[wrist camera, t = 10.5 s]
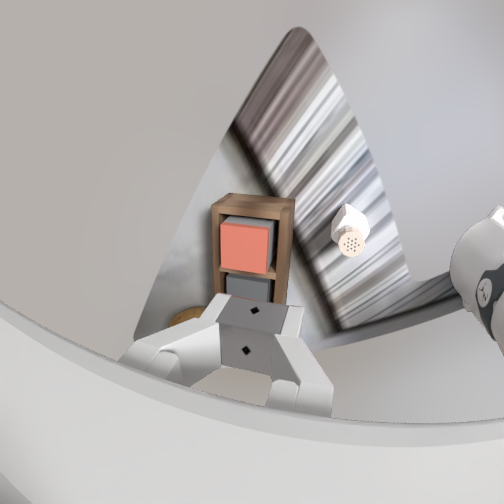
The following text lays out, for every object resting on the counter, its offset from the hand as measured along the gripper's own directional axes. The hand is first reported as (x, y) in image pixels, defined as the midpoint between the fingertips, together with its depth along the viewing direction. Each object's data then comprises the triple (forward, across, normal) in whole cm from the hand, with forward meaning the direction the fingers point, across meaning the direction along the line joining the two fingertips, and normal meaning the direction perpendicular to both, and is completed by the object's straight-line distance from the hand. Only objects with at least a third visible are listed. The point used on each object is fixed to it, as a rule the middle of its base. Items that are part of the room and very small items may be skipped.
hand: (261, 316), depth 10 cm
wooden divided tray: (+34, +8, +14) cm, 37 cm away
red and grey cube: (+30, +8, +9) cm, 33 cm away
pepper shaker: (+34, -5, +7) cm, 35 cm away
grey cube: (+32, +8, +18) cm, 38 cm away
